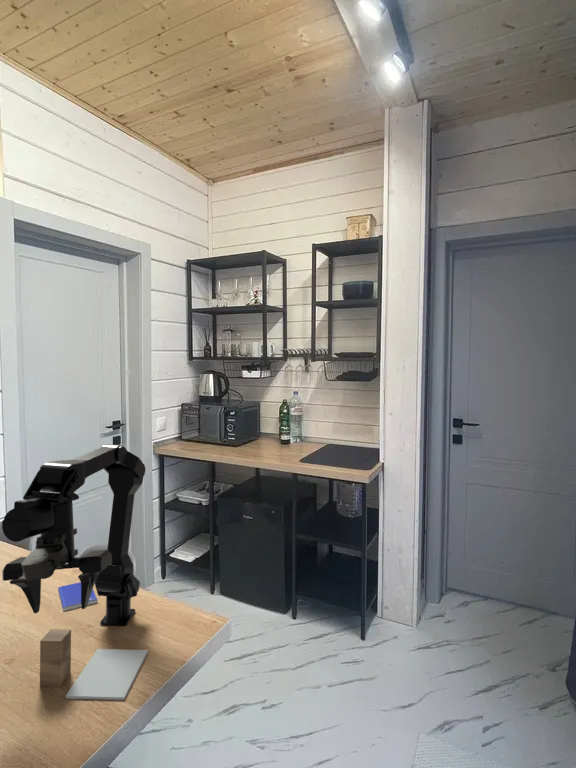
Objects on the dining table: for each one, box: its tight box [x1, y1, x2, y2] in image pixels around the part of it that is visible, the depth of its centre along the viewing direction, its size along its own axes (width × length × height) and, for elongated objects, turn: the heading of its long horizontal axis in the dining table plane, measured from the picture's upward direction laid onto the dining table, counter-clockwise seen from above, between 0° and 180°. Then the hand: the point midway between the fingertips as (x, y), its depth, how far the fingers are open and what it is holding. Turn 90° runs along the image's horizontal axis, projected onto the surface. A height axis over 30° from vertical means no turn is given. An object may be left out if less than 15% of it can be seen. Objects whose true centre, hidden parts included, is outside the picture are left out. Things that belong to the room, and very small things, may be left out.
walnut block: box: [39, 628, 72, 688], centre depth 87 cm, size 4×4×9 cm
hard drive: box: [57, 581, 98, 612], centre depth 119 cm, size 2×8×12 cm
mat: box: [65, 648, 149, 701], centre depth 89 cm, size 14×11×1 cm
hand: (60, 610), depth 84 cm, fingers open, 9 cm apart
